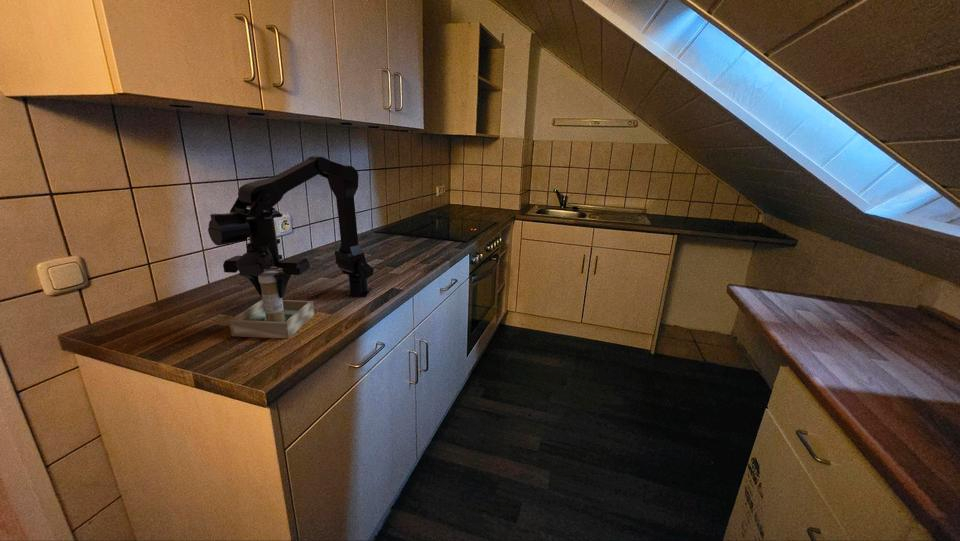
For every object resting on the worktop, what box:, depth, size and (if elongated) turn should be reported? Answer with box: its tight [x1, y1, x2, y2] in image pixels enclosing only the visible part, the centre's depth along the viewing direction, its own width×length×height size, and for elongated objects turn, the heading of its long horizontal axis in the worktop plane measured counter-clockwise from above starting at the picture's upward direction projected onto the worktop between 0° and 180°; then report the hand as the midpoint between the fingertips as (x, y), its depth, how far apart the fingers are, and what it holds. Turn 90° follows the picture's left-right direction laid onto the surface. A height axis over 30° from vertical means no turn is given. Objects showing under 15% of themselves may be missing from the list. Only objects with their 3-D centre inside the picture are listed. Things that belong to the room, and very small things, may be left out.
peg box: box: [228, 298, 315, 339], centre depth 97 cm, size 14×14×4 cm
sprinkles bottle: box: [258, 270, 287, 322], centre depth 96 cm, size 5×5×13 cm
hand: (272, 297), depth 95 cm, fingers closed on sprinkles bottle, 4 cm apart
